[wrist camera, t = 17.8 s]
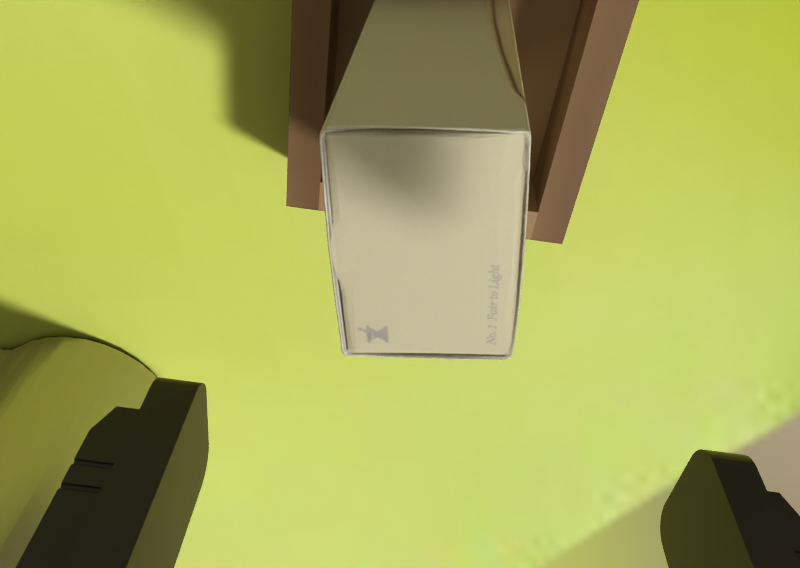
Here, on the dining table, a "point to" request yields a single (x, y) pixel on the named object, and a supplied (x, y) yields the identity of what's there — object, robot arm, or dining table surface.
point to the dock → (542, 81)
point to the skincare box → (429, 182)
